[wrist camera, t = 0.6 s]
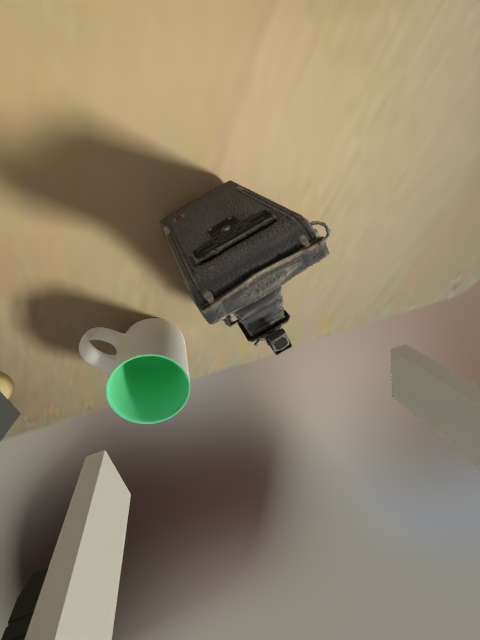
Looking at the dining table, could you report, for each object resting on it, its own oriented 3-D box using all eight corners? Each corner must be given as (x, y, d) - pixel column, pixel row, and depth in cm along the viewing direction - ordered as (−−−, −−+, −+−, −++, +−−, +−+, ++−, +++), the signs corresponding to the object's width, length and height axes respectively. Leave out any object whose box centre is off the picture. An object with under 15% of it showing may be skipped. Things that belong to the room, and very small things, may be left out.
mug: (80, 350, 36) (49, 398, 27) (105, 294, 35) (82, 325, 25) (169, 380, 41) (169, 432, 31) (195, 332, 39) (203, 371, 30)
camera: (213, 316, 43) (269, 427, 27) (151, 209, 32) (185, 292, 17) (277, 281, 43) (368, 370, 28) (237, 165, 33) (349, 203, 17)
